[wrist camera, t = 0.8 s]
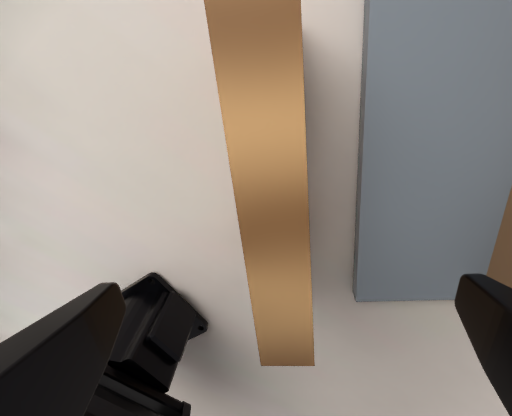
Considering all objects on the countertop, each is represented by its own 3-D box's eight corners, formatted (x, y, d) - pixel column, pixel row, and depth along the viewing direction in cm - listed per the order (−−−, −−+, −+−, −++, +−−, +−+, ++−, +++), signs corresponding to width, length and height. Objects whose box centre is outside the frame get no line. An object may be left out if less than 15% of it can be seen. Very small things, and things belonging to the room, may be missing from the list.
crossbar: (304, 258, 20) (314, 365, 13) (269, 260, 21) (261, 365, 14) (292, 19, 14) (300, -20, 7) (242, 26, 15) (203, -5, 7)
